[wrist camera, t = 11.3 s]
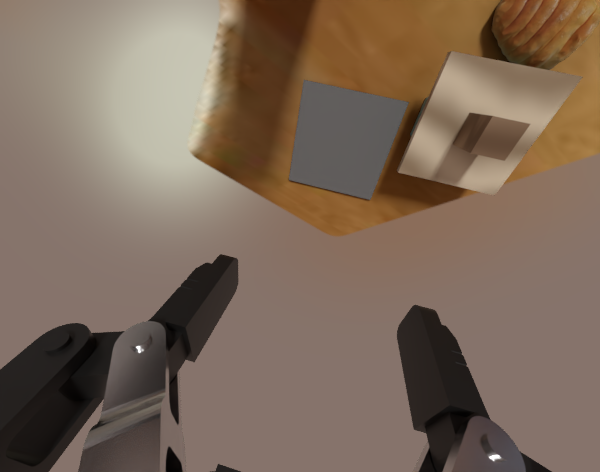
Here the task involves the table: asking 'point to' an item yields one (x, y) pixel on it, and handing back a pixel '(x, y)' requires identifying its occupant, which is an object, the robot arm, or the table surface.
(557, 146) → the table surface
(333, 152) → the mat
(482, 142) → the lid
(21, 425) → the robot arm
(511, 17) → the pastry
